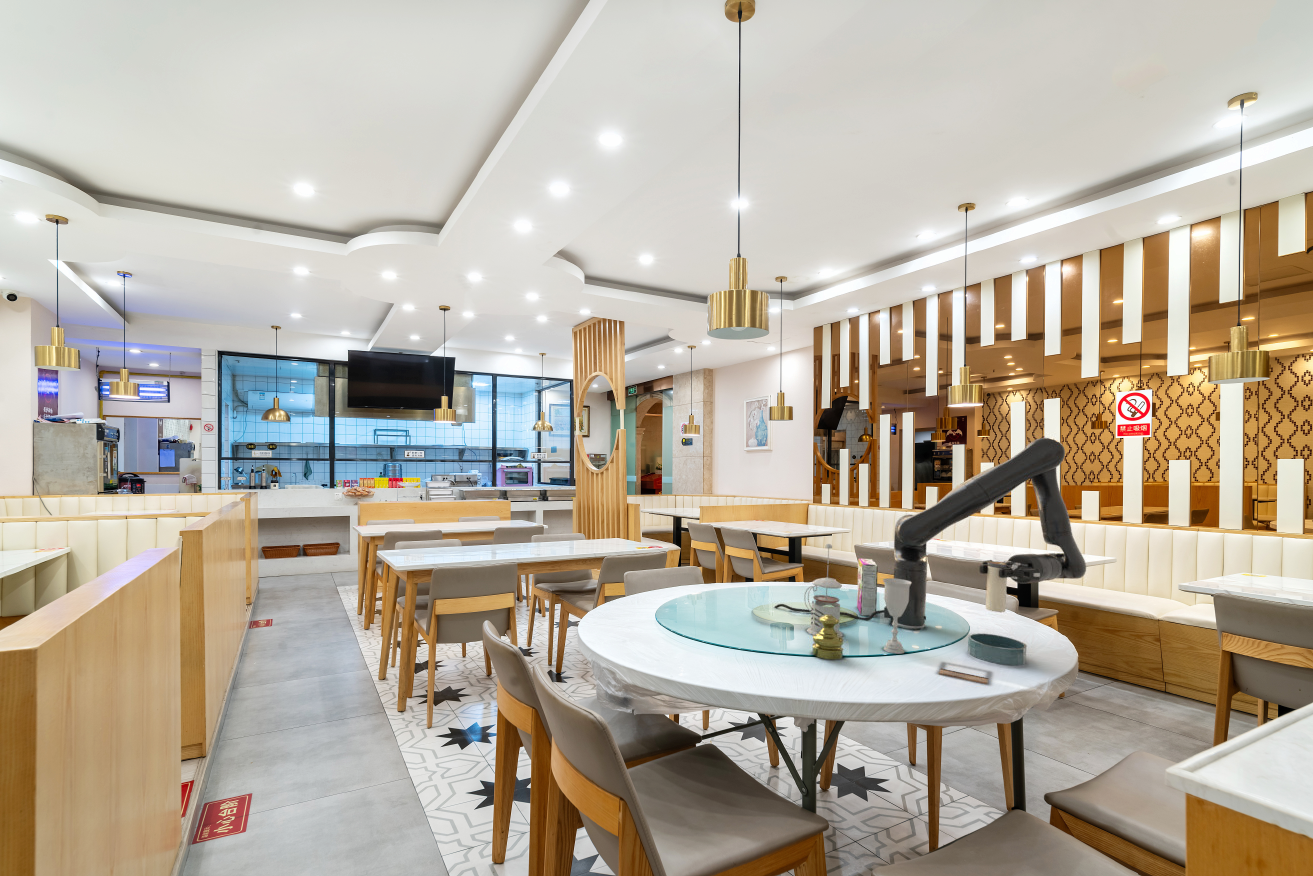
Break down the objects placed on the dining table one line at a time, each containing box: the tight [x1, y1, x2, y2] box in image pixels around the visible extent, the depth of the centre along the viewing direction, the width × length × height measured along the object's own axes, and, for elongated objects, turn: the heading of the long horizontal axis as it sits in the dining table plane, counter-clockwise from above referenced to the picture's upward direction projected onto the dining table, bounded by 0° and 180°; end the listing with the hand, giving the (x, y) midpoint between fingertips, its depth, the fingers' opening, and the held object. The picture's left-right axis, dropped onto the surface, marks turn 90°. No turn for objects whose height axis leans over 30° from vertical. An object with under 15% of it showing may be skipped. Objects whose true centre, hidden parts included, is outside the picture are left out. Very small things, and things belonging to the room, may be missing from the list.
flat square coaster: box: [938, 668, 989, 685], centre depth 146 cm, size 10×10×1 cm
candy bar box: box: [856, 558, 879, 618], centre depth 200 cm, size 11×5×16 cm, turn 168°
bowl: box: [967, 632, 1027, 666], centre depth 158 cm, size 13×13×4 cm
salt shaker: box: [811, 614, 845, 661], centre depth 154 cm, size 7×7×10 cm
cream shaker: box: [985, 561, 1008, 613], centre depth 158 cm, size 4×4×12 cm
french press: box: [803, 543, 844, 638], centre depth 175 cm, size 10×12×25 cm
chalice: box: [882, 577, 911, 655], centre depth 161 cm, size 7×7×18 cm
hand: (991, 571), depth 156 cm, fingers closed on cream shaker, 4 cm apart
